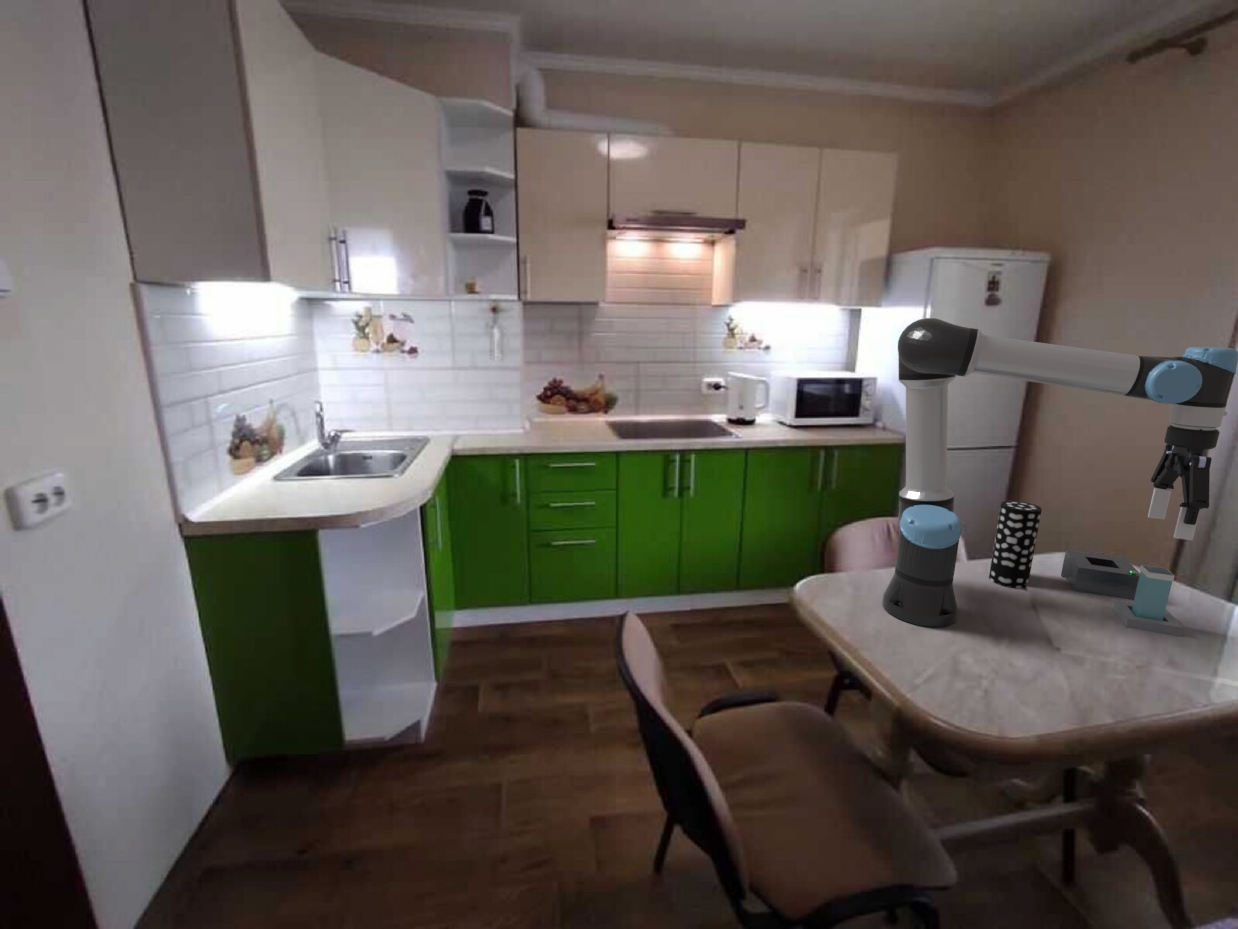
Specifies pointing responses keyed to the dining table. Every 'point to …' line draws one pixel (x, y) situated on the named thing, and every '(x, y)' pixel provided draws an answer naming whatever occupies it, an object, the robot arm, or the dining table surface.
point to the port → (1100, 574)
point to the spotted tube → (1014, 543)
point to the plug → (1152, 592)
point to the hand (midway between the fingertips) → (1168, 528)
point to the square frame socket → (1147, 620)
